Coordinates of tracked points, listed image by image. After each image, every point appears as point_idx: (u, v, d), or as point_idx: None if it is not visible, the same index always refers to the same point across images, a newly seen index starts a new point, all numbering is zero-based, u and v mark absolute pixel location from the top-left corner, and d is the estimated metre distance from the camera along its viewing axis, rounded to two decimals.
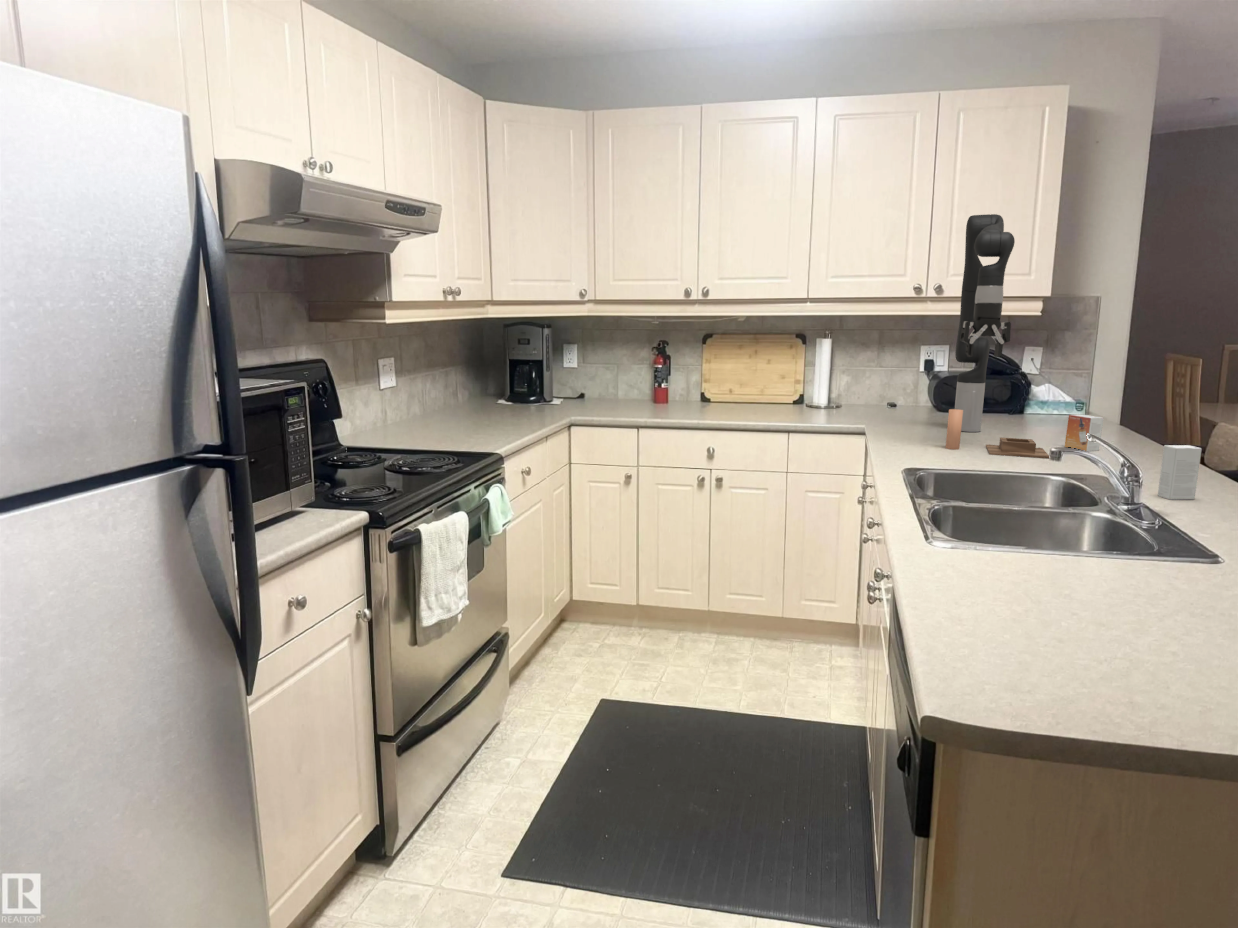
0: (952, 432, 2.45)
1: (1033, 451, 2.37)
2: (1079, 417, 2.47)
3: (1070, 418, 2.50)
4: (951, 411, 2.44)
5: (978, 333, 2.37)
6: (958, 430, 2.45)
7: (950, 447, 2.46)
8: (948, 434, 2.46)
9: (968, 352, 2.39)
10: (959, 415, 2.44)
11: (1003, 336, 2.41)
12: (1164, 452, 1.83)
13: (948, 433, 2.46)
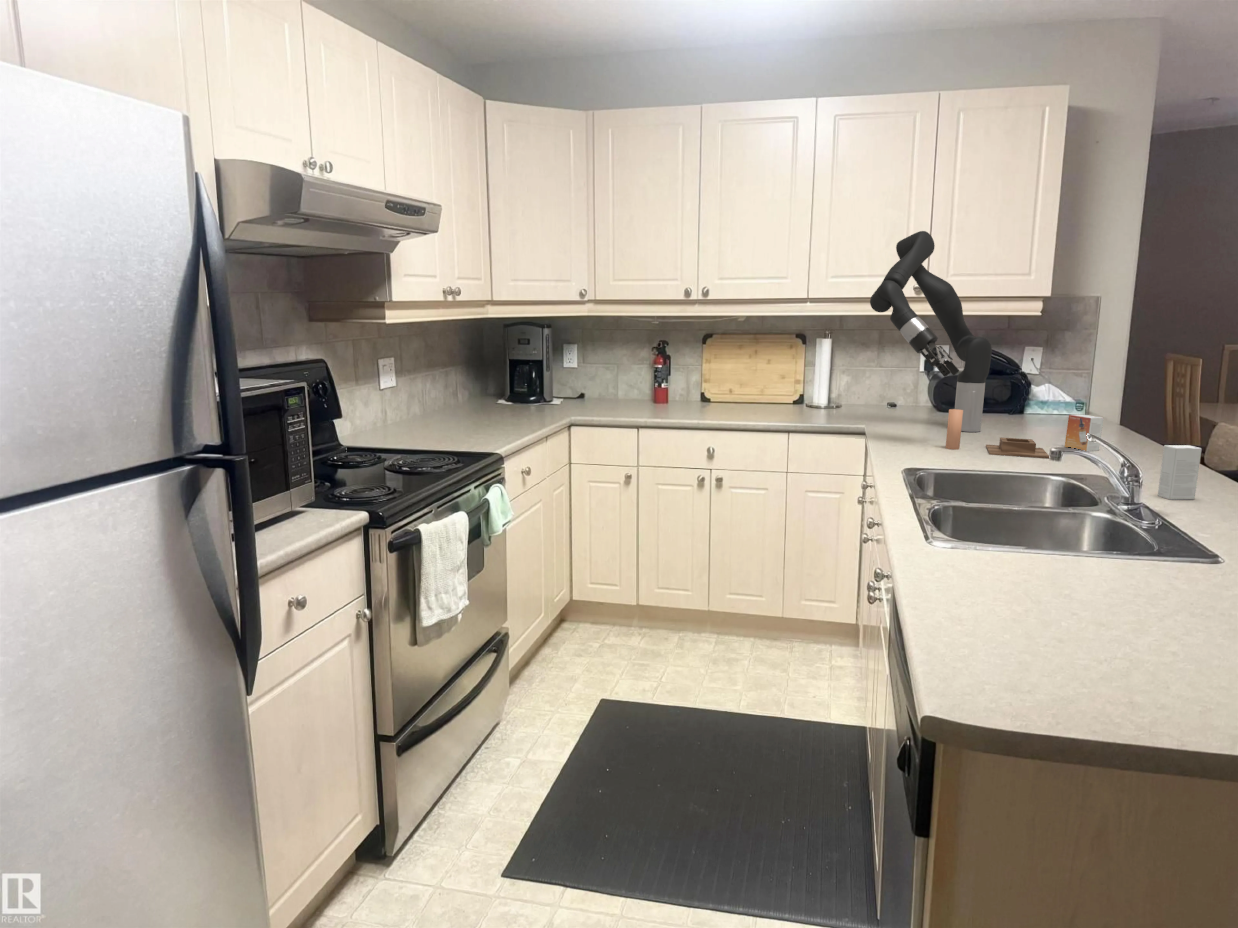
0: (952, 432, 2.45)
1: (1033, 451, 2.37)
2: (1079, 417, 2.47)
3: (1070, 418, 2.50)
4: (951, 411, 2.44)
5: (938, 353, 2.44)
6: (958, 430, 2.45)
7: (950, 447, 2.46)
8: (948, 434, 2.46)
9: (945, 370, 2.41)
10: (959, 415, 2.44)
11: (943, 360, 2.52)
12: (1164, 452, 1.83)
13: (948, 433, 2.46)
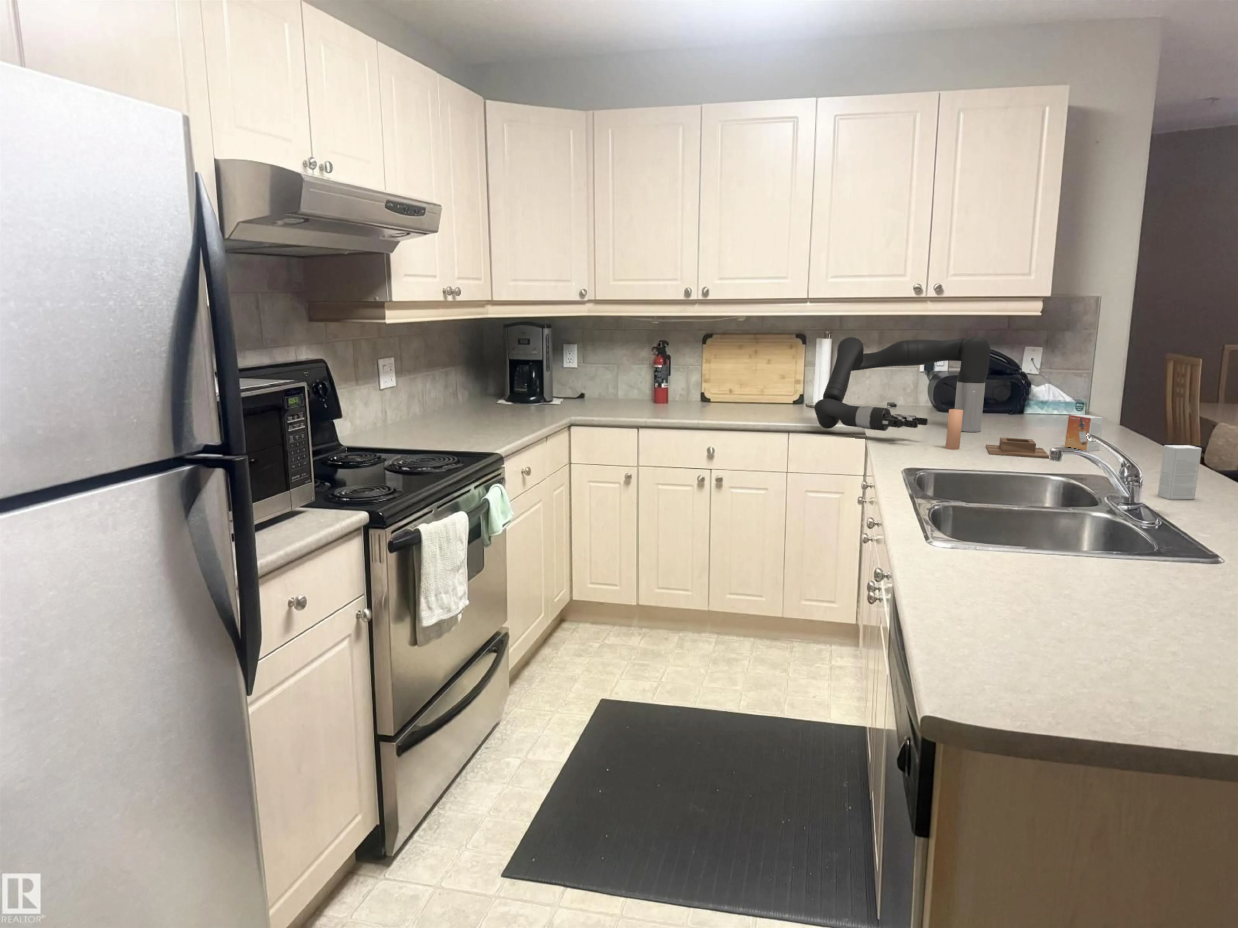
0: (952, 432, 2.45)
1: (1033, 451, 2.37)
2: (1079, 417, 2.47)
3: (1070, 418, 2.50)
4: (951, 411, 2.44)
5: (897, 416, 2.54)
6: (958, 430, 2.45)
7: (950, 447, 2.46)
8: (948, 434, 2.46)
9: (912, 422, 2.50)
10: (959, 415, 2.44)
11: None
12: (1164, 452, 1.83)
13: (948, 433, 2.46)
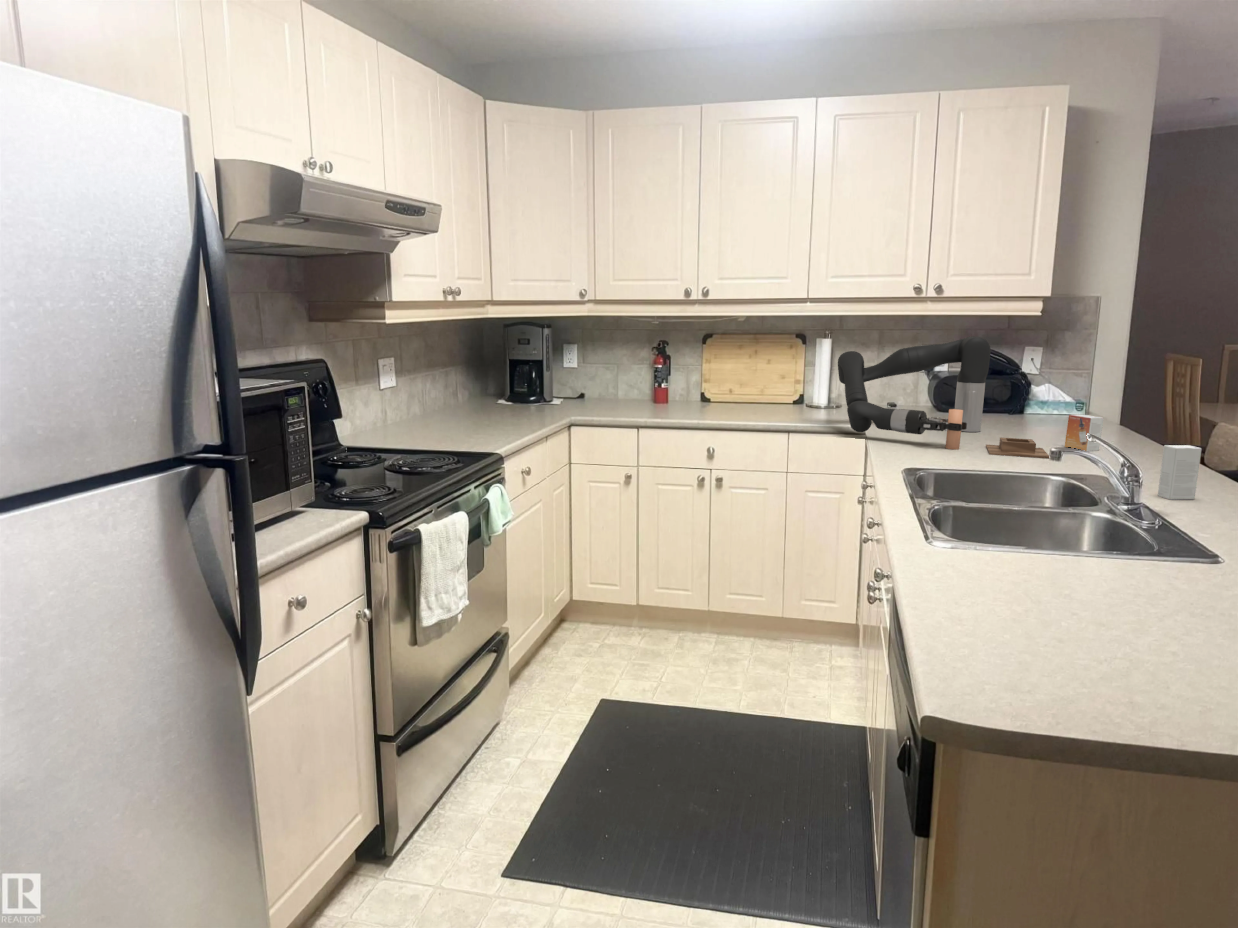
0: (952, 432, 2.45)
1: (1033, 451, 2.37)
2: (1079, 417, 2.47)
3: (1070, 418, 2.50)
4: (951, 411, 2.44)
5: (937, 419, 2.47)
6: None
7: (950, 447, 2.46)
8: (948, 434, 2.46)
9: (956, 425, 2.43)
10: (959, 415, 2.44)
11: None
12: (1164, 452, 1.83)
13: (948, 433, 2.46)
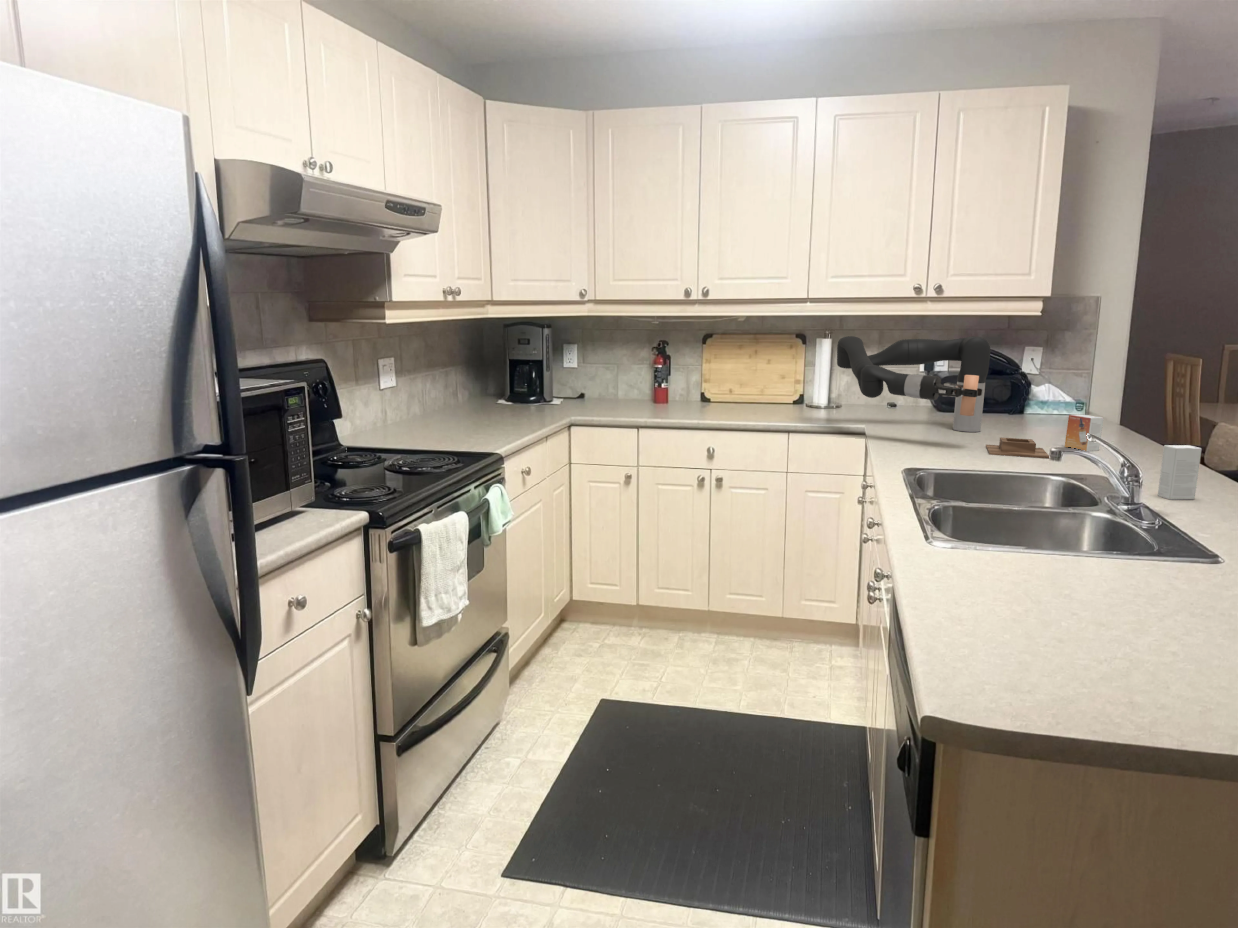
0: (967, 398, 2.42)
1: (1033, 451, 2.37)
2: (1079, 417, 2.47)
3: (1070, 418, 2.50)
4: (967, 377, 2.41)
5: (952, 385, 2.44)
6: None
7: (964, 413, 2.43)
8: (963, 400, 2.43)
9: (972, 391, 2.40)
10: (975, 381, 2.41)
11: None
12: (1164, 452, 1.83)
13: (963, 399, 2.43)
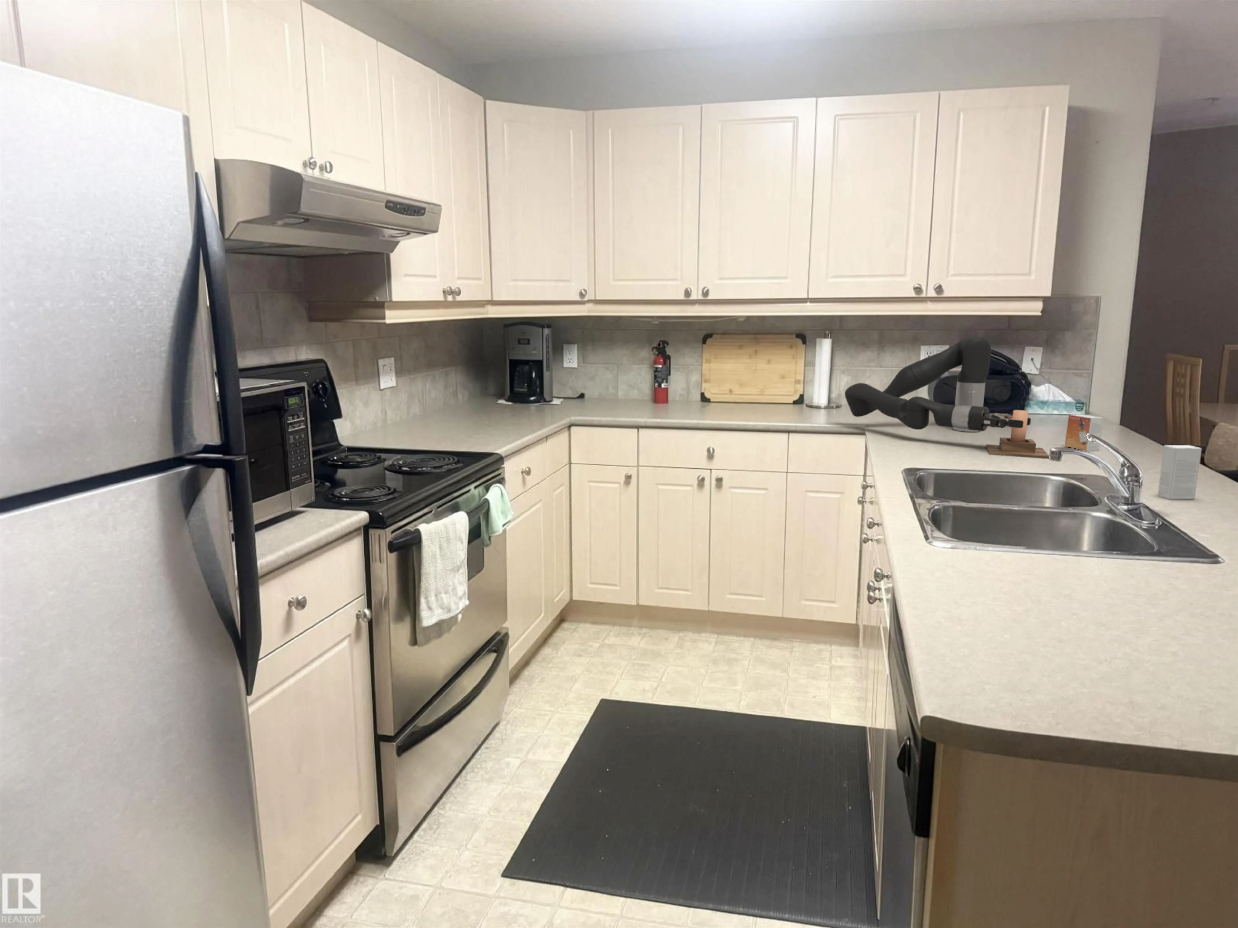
0: (1017, 434, 2.40)
1: (1033, 451, 2.37)
2: (1079, 417, 2.47)
3: (1070, 418, 2.50)
4: (1016, 412, 2.39)
5: (999, 416, 2.41)
6: (1023, 432, 2.39)
7: None
8: (1012, 436, 2.41)
9: (1017, 422, 2.36)
10: (1025, 416, 2.38)
11: None
12: (1164, 452, 1.83)
13: (1012, 435, 2.41)
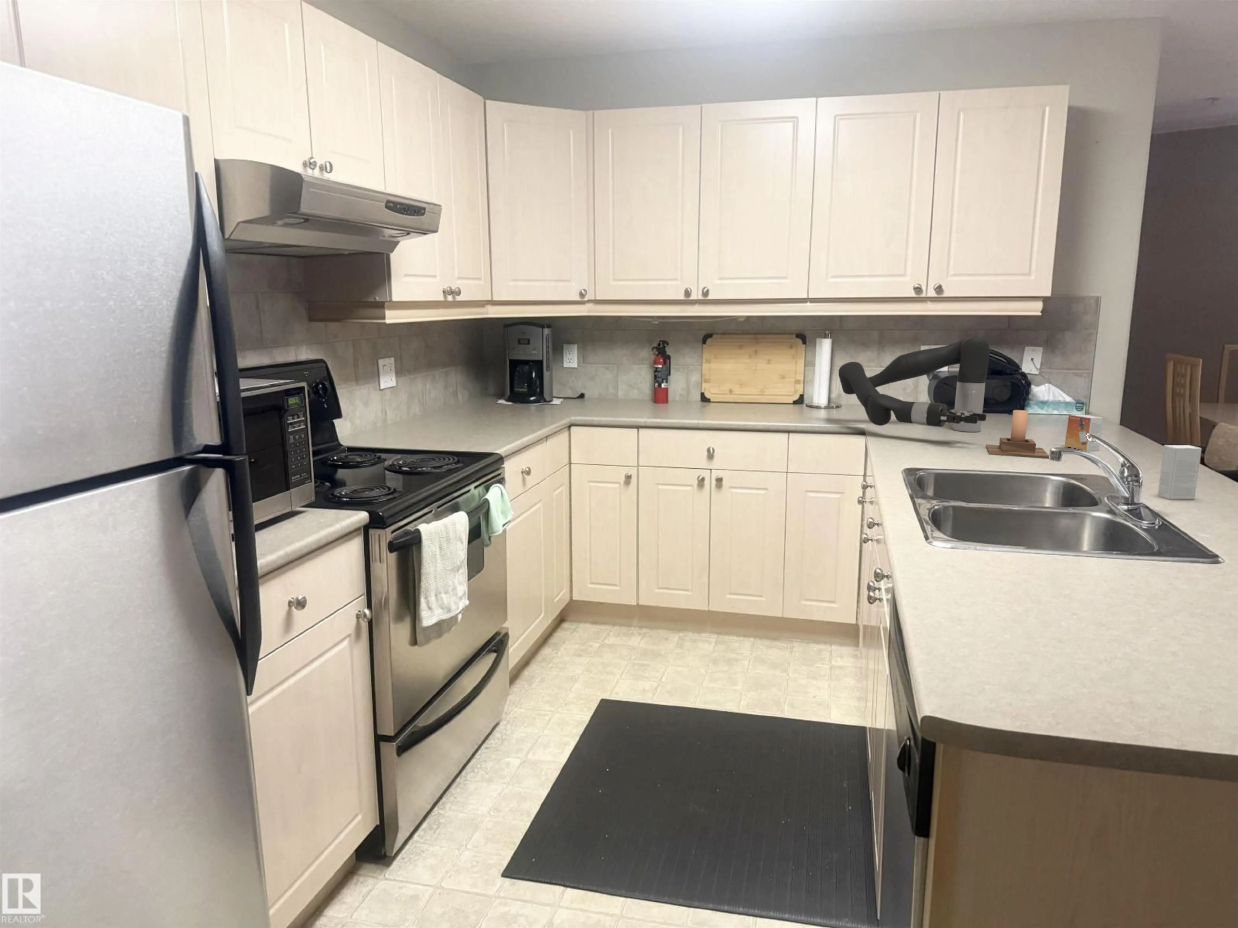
0: (1017, 434, 2.40)
1: (1033, 451, 2.37)
2: (1079, 417, 2.47)
3: (1070, 418, 2.50)
4: (1016, 412, 2.39)
5: (955, 412, 2.49)
6: (1023, 432, 2.39)
7: None
8: (1012, 435, 2.41)
9: (972, 418, 2.45)
10: (1025, 416, 2.38)
11: None
12: (1164, 452, 1.83)
13: (1012, 434, 2.41)
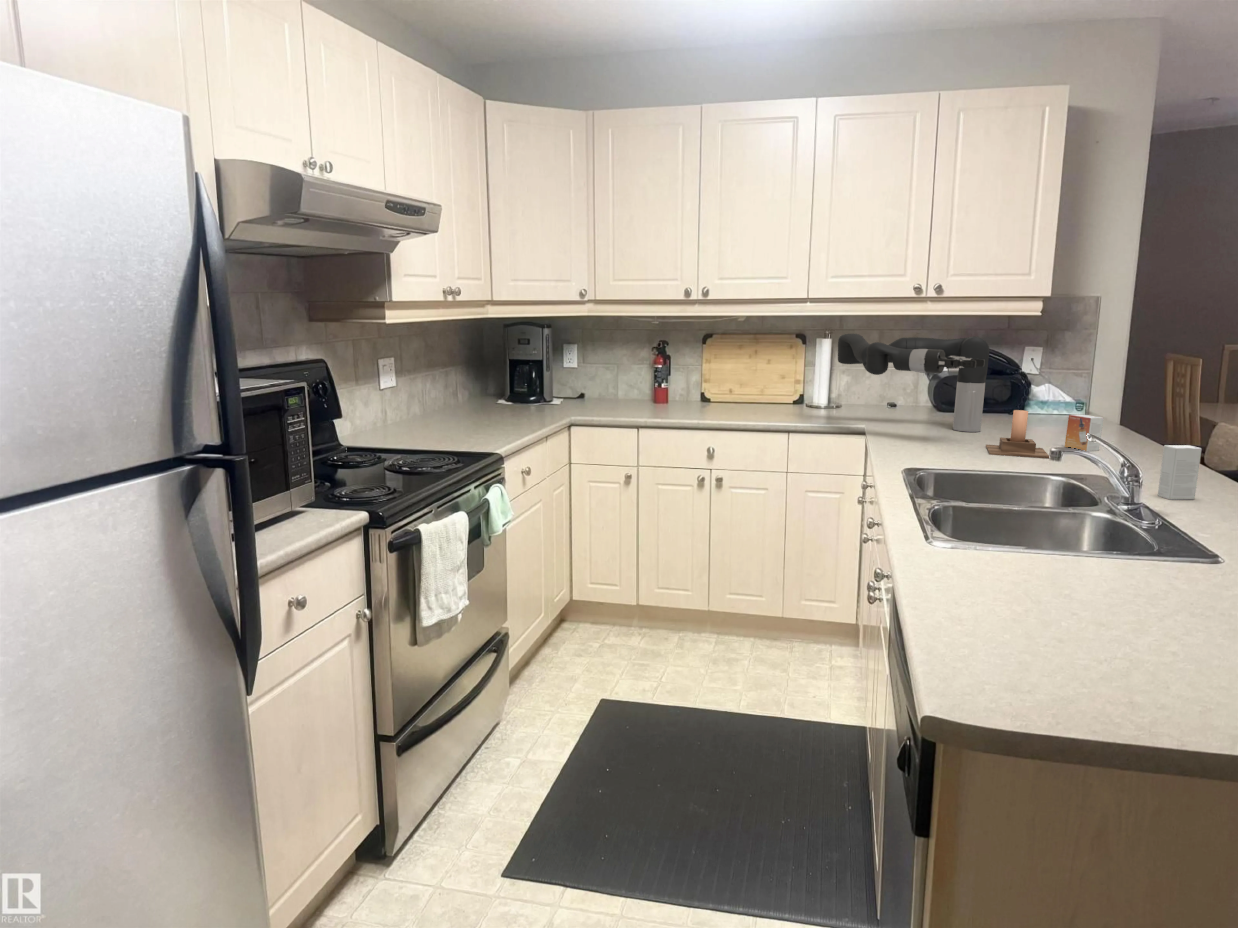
0: (1017, 434, 2.40)
1: (1033, 451, 2.37)
2: (1079, 417, 2.47)
3: (1070, 418, 2.50)
4: (1016, 412, 2.39)
5: None
6: (1023, 432, 2.39)
7: None
8: (1012, 435, 2.41)
9: (970, 362, 2.43)
10: (1025, 416, 2.38)
11: None
12: (1164, 452, 1.83)
13: (1012, 434, 2.41)
